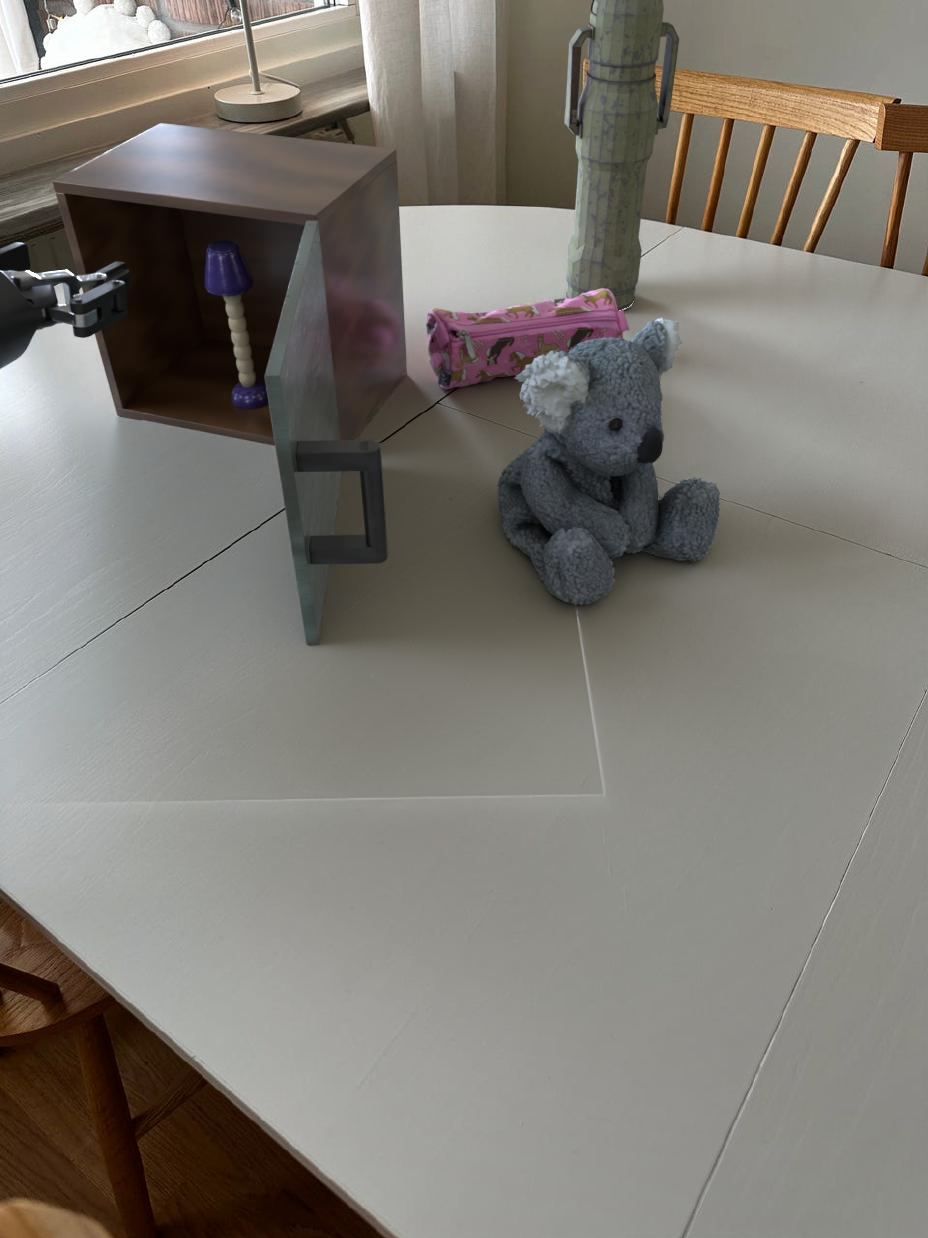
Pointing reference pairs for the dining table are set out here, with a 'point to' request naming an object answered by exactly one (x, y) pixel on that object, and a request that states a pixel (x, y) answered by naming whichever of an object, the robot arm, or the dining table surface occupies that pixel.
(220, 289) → the toy lamp
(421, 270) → the dining table surface
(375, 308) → the cupboard
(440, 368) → the pencil case
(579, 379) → the koala plush
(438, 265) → the dining table surface
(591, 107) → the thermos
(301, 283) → the cupboard door
